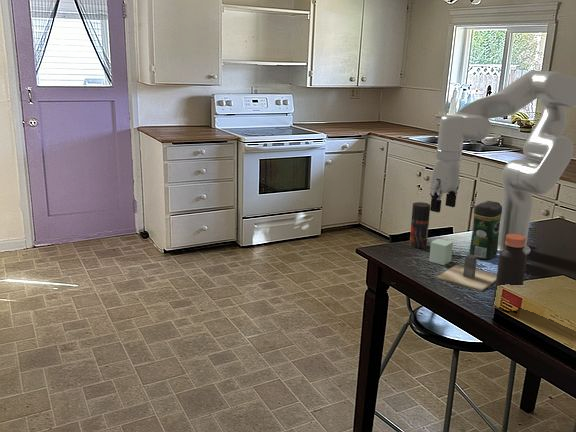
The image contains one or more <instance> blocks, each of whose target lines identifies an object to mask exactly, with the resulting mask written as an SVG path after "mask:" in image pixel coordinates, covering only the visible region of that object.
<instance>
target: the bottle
mask: <svg viewBox="0 0 576 432" xmlns="http://www.w3.org/2000/svg"><path fill="white" fill-rule="evenodd" d="M525 241H526V237H524V236H522V235H518V234H507V235H506V238H505V246H506V248H505V249H504V250H502V251H501V252H500V253H499V257H498V263H497V264H498V265H497V271H496V275H497V278H496V281H495V286H494V287H495V288H494V295H493V302H492V305H493V306H494V301H495V297H496V290H497V286H498V285H505V284H510V285H523V286H524V282H525V273H526V268H527V267H526V266H527V259H528V255H526V254H525V253H524V252H523V248H524V246H525Z"/></svg>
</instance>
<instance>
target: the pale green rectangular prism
mask: <svg viewBox="0 0 576 432" xmlns="http://www.w3.org/2000/svg"><path fill="white" fill-rule="evenodd" d="M453 244H454V242H453V241H450V240H446V239H441V238H437V239H434V240H432V241H431V242H430V246H429V247H430V249H429V259H428V261H429V262H431V263H434V264H438V265H442V266H445V265H447V264H448V263H451V262H452V254H453V248H454V245H453Z"/></svg>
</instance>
